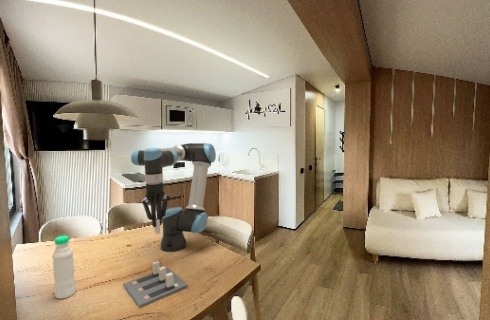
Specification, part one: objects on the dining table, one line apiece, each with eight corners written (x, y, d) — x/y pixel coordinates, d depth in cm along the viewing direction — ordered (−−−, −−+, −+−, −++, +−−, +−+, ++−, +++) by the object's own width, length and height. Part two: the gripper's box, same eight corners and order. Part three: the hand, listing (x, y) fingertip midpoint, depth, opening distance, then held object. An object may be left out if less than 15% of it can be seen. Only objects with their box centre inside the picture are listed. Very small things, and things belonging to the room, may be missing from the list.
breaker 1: (152, 274, 122) (151, 262, 121) (158, 272, 124) (157, 260, 123) (154, 276, 120) (153, 264, 119) (160, 274, 122) (160, 262, 121)
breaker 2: (158, 280, 117) (157, 268, 116) (164, 278, 119) (164, 265, 118) (160, 282, 115) (160, 270, 114) (167, 280, 117) (166, 267, 116)
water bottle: (72, 287, 114) (68, 232, 112) (78, 293, 110) (74, 236, 107) (53, 295, 109) (48, 237, 106) (58, 301, 104) (54, 242, 102)
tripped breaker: (165, 287, 111) (164, 274, 111) (171, 284, 113) (171, 271, 113) (167, 289, 110) (167, 276, 109) (174, 287, 112) (173, 274, 111)
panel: (123, 286, 115) (123, 283, 115) (167, 269, 129) (167, 267, 129) (139, 308, 100) (139, 305, 100) (187, 287, 114) (187, 284, 114)
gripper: (143, 186, 109) (146, 239, 112) (171, 181, 118) (174, 231, 121) (136, 183, 114) (140, 234, 117) (164, 179, 123) (166, 226, 126)
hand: (157, 232), depth 119 cm, fingers closed
